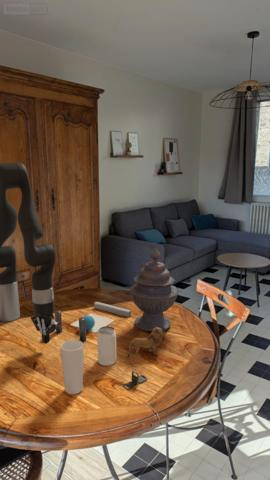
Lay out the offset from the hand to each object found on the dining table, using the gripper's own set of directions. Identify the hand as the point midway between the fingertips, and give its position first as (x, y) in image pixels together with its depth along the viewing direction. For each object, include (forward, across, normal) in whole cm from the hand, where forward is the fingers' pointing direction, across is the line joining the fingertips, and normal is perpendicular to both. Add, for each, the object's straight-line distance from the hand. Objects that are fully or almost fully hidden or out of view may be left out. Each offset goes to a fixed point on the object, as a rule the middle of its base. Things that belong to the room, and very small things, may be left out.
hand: (46, 342), depth 129 cm
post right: (+3, +7, +13) cm, 15 cm away
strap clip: (+3, +39, +1) cm, 39 cm away
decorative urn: (+3, +24, +39) cm, 46 cm away
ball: (0, +2, +21) cm, 21 cm away
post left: (+3, -6, +13) cm, 15 cm away
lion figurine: (+3, +33, +18) cm, 37 cm away
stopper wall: (+3, 0, +41) cm, 41 cm away
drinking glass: (+3, +25, -12) cm, 28 cm away
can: (+3, +24, +6) cm, 25 cm away
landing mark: (+3, 0, +27) cm, 27 cm away
